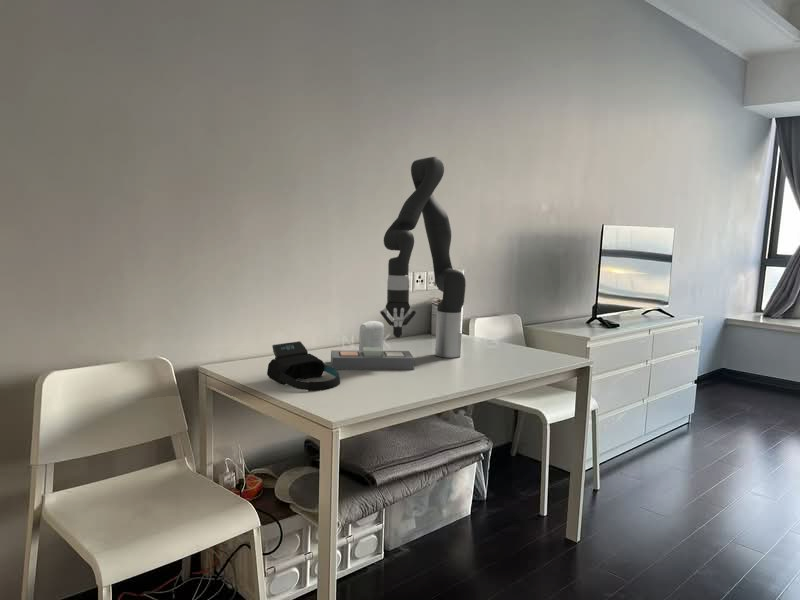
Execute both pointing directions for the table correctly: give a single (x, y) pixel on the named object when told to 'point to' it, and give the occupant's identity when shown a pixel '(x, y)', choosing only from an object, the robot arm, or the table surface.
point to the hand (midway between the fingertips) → (397, 337)
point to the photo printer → (371, 335)
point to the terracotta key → (349, 354)
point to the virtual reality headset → (299, 368)
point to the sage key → (372, 351)
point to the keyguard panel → (372, 361)
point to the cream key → (394, 354)
